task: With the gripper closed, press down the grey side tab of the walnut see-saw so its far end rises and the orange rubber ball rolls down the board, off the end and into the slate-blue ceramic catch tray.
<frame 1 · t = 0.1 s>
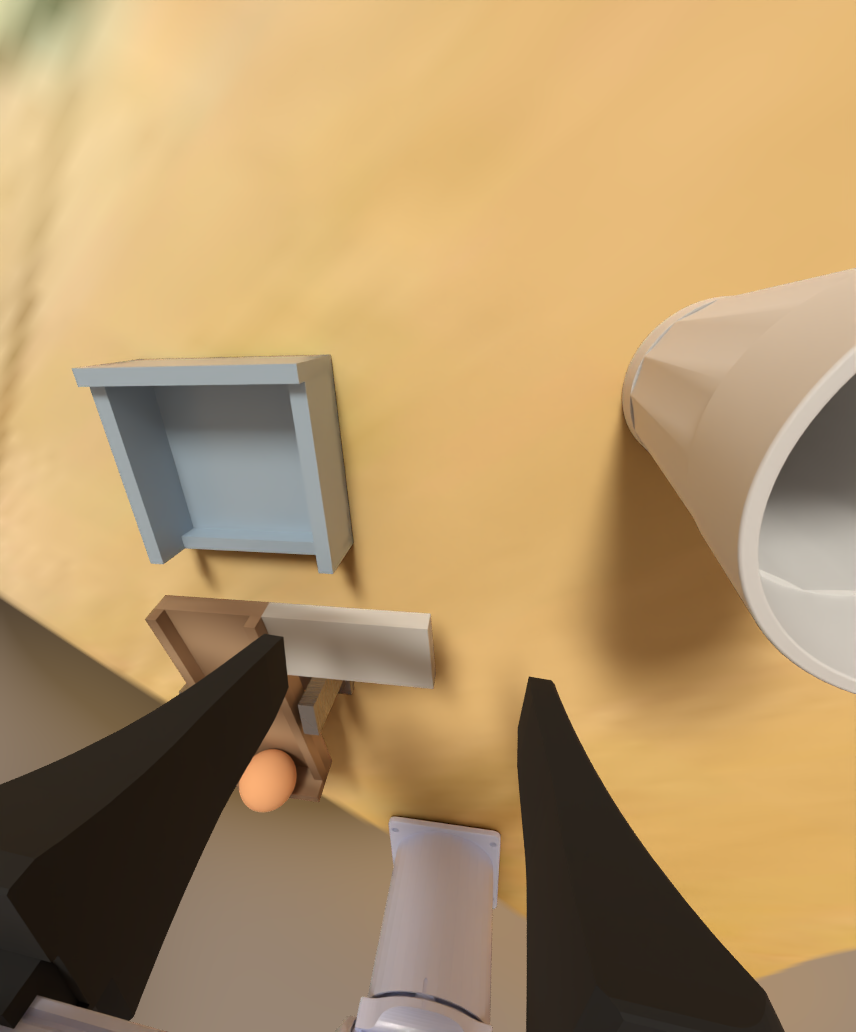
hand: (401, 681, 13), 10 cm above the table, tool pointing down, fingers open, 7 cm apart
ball: (268, 779, 24), point 5 cm above the table, tilted 15°, touching seesaw
tray: (251, 456, 22), on the table
seesaw: (314, 718, 22), point 5 cm above the table, hinge at -11.0°, touching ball
stand: (291, 645, 27), on the table
cup: (706, 385, 17), on the table
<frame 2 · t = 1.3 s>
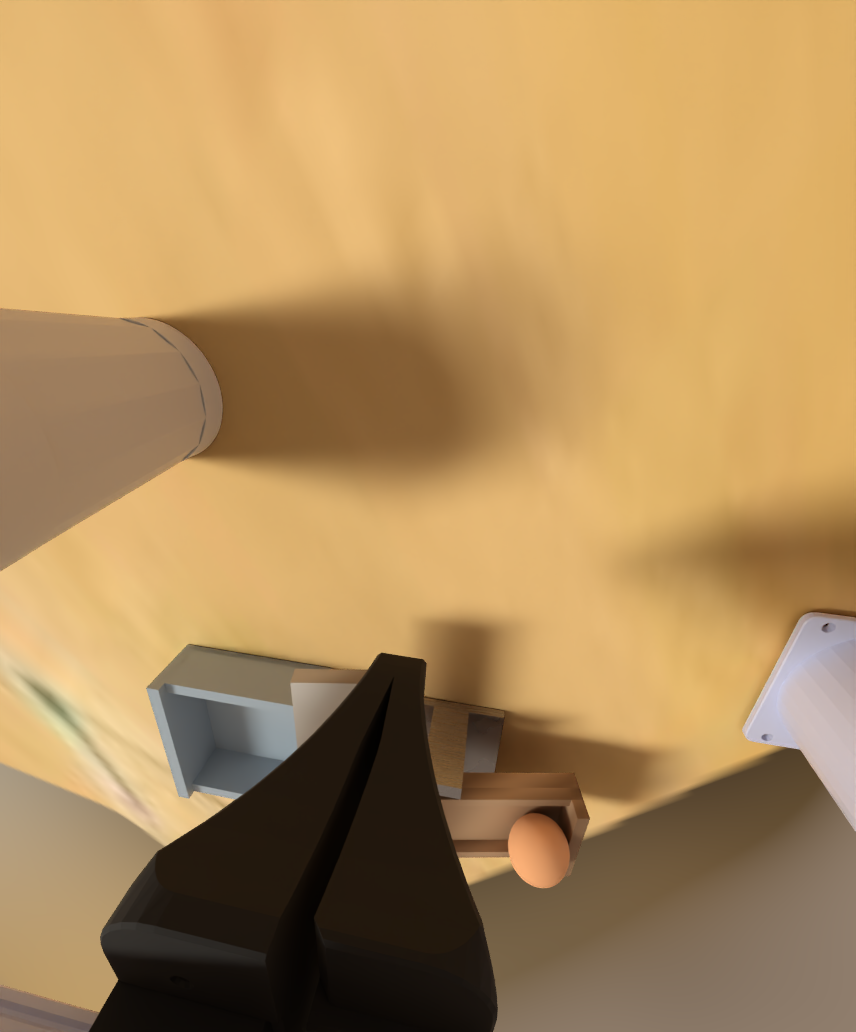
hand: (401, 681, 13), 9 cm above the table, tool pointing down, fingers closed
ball: (538, 848, 22), point 5 cm above the table, tilted 15°, touching seesaw
tray: (266, 711, 29), on the table
seesaw: (444, 782, 21), point 5 cm above the table, hinge at -11.0°, touching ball
stand: (447, 744, 27), on the table
cup: (161, 391, 21), on the table
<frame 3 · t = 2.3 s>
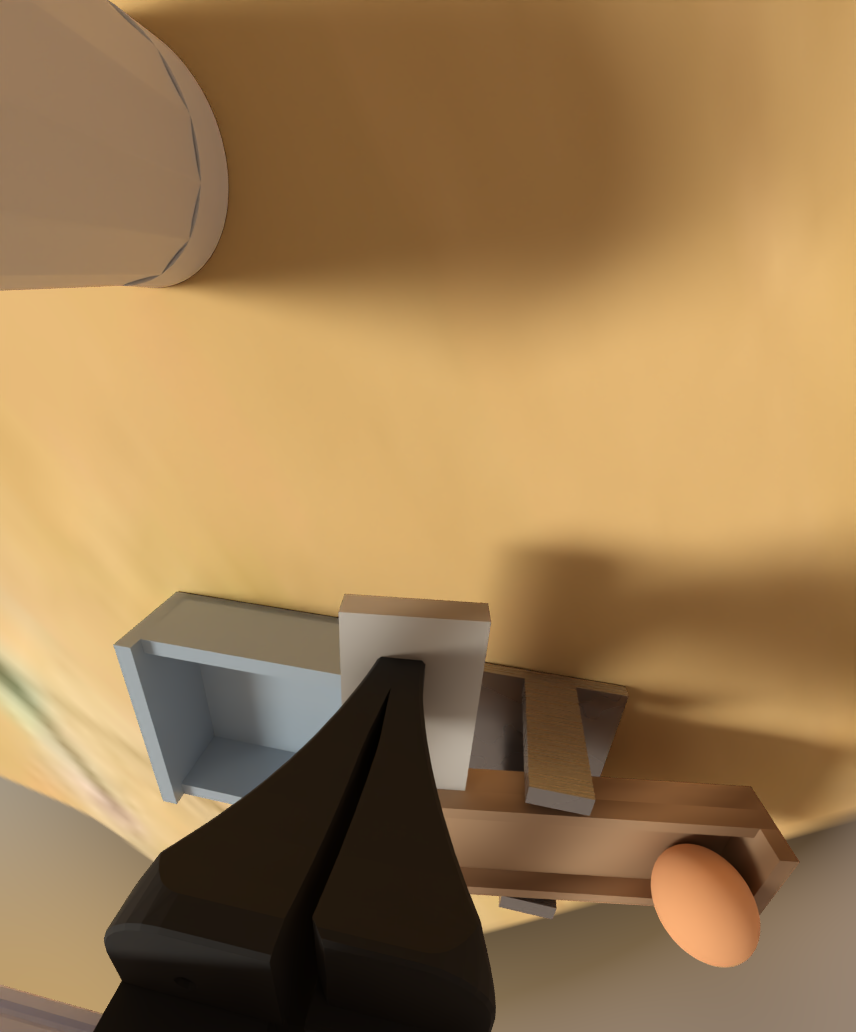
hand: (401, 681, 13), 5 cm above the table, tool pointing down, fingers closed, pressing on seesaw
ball: (702, 901, 14), point 5 cm above the table, tilted 10°, touching seesaw
tray: (282, 687, 21), on the table
seesaw: (563, 789, 14), point 5 cm above the table, hinge at -8.1°, touching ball, gripper
stand: (534, 734, 20), on the table
cup: (132, 168, 13), on the table
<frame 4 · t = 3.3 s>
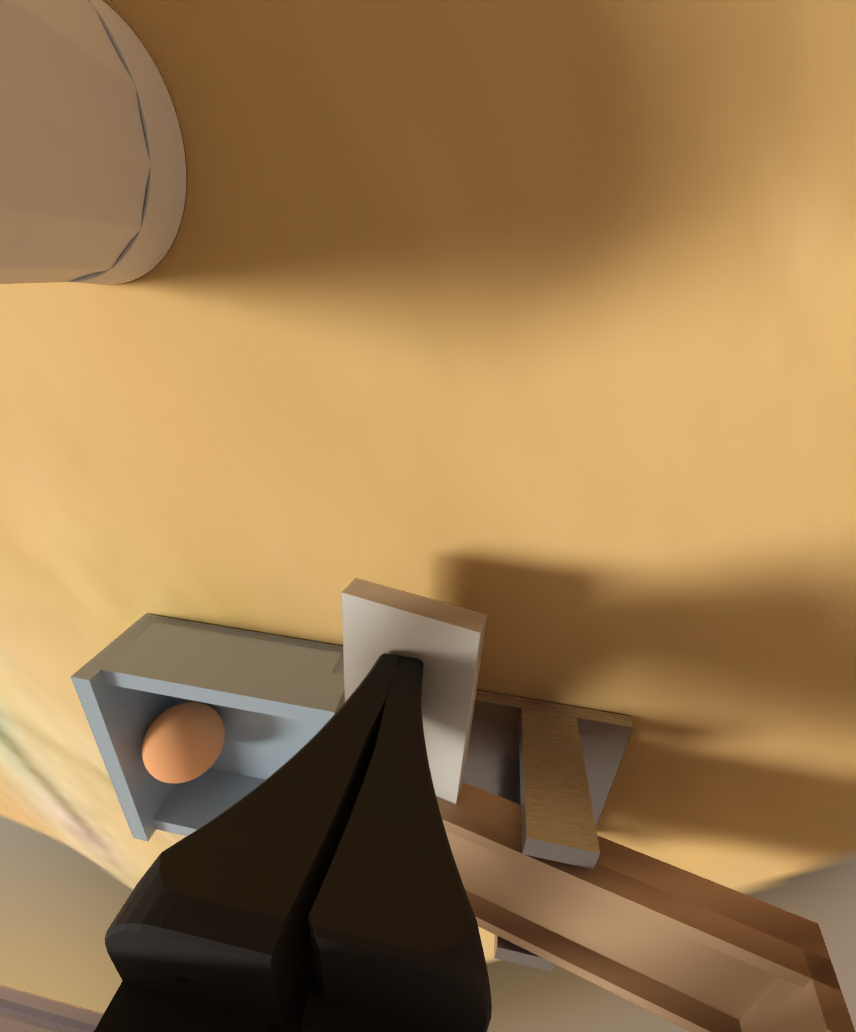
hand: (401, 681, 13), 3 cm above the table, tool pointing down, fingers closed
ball: (185, 741, 18), point 2 cm above the table, tilted 36°, touching tray
tray: (262, 713, 20), on the table
seesaw: (555, 838, 13), point 5 cm above the table, hinge at 11.5°, touching gripper
stand: (532, 764, 18), on the table
cup: (79, 149, 12), on the table
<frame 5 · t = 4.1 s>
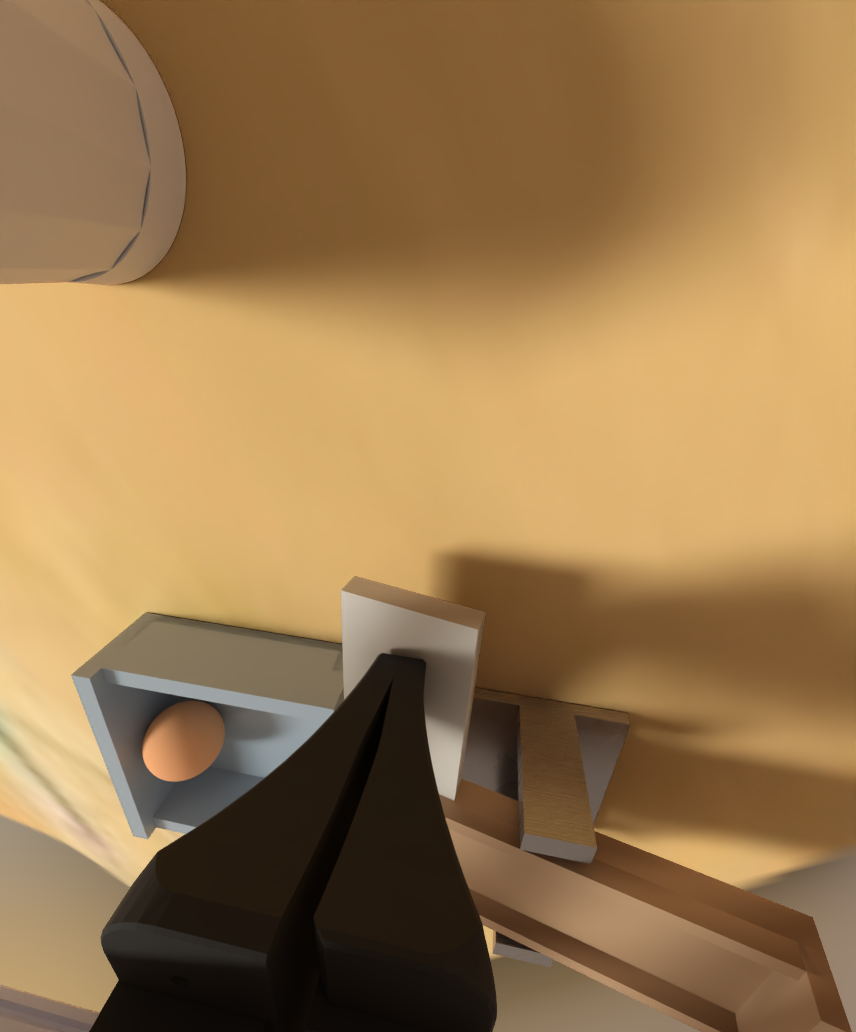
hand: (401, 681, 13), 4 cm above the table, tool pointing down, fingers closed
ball: (185, 739, 18), point 2 cm above the table, tilted 35°, touching tray
tray: (261, 712, 20), on the table
seesaw: (552, 833, 13), point 5 cm above the table, hinge at 11.6°
stand: (530, 761, 18), on the table
cup: (79, 150, 12), on the table
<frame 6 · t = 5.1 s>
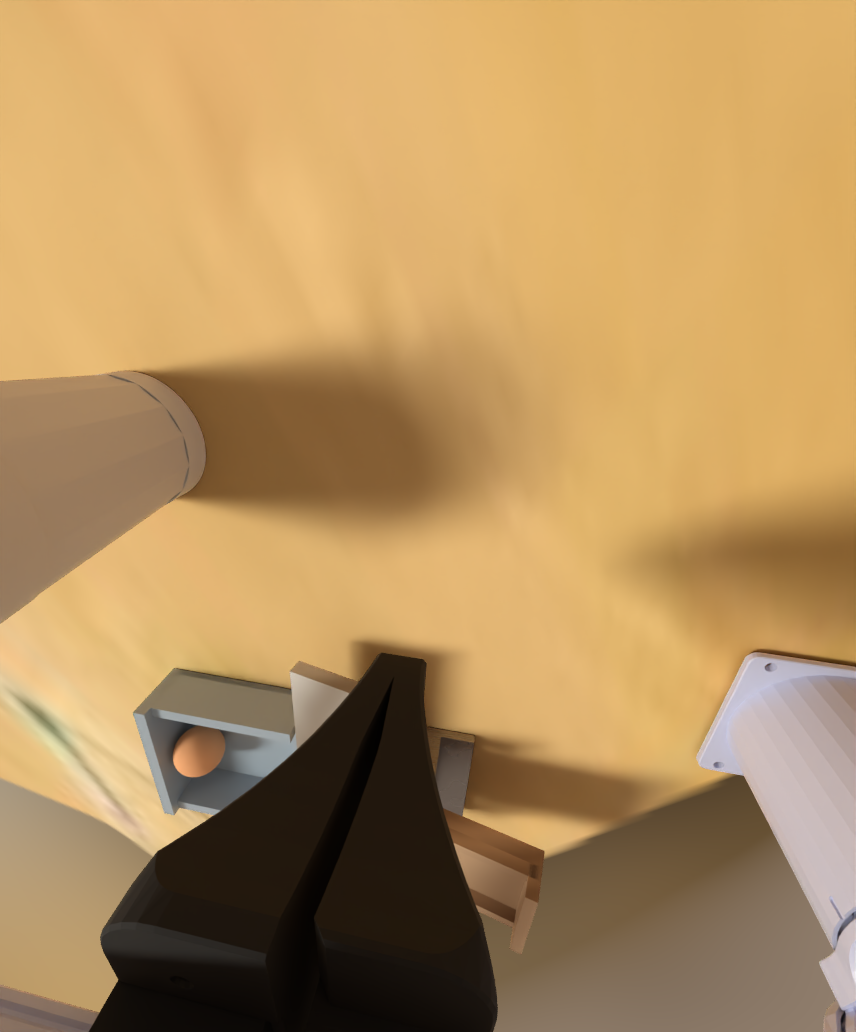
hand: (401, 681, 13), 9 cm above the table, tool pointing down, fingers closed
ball: (199, 750, 28), point 2 cm above the table, tilted 34°, touching tray
tray: (249, 731, 30), on the table
seesaw: (407, 806, 23), point 5 cm above the table, hinge at 11.6°
stand: (422, 765, 28), on the table
cup: (148, 437, 22), on the table
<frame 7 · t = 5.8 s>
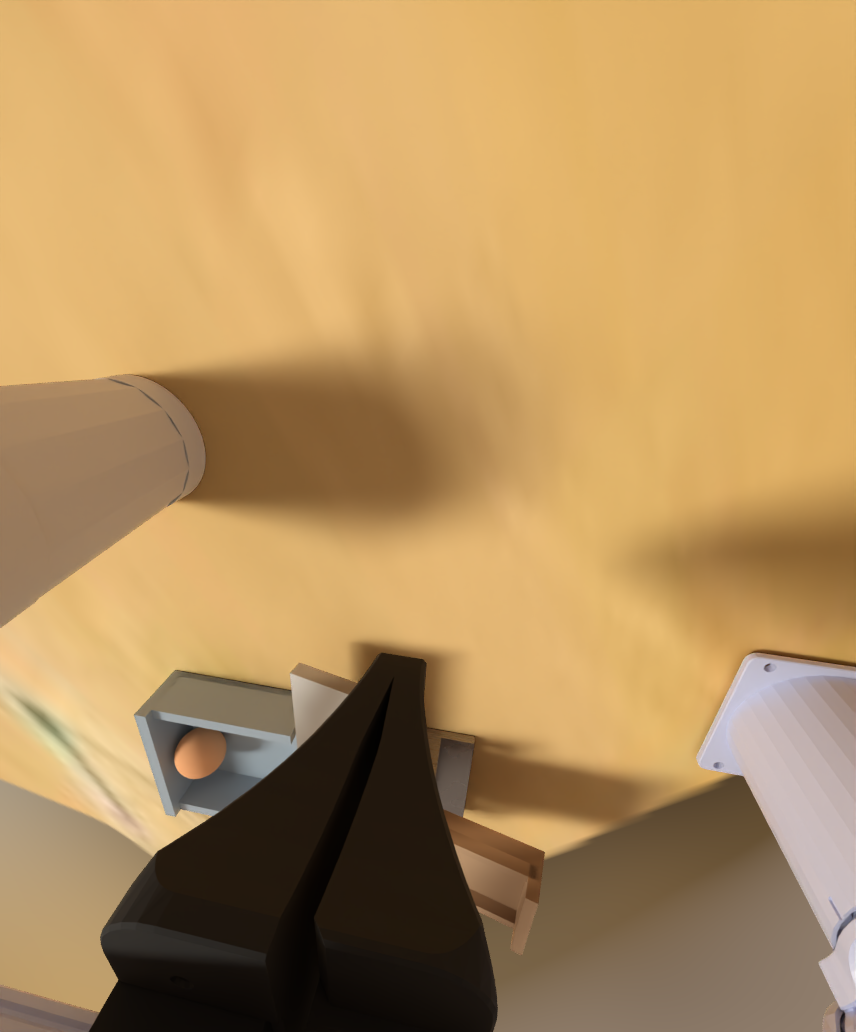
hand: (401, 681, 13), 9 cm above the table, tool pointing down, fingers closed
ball: (200, 751, 28), point 2 cm above the table, tilted 33°, touching tray
tray: (250, 733, 30), on the table
seesaw: (408, 807, 23), point 5 cm above the table, hinge at 11.6°
stand: (422, 766, 28), on the table
cup: (148, 440, 22), on the table
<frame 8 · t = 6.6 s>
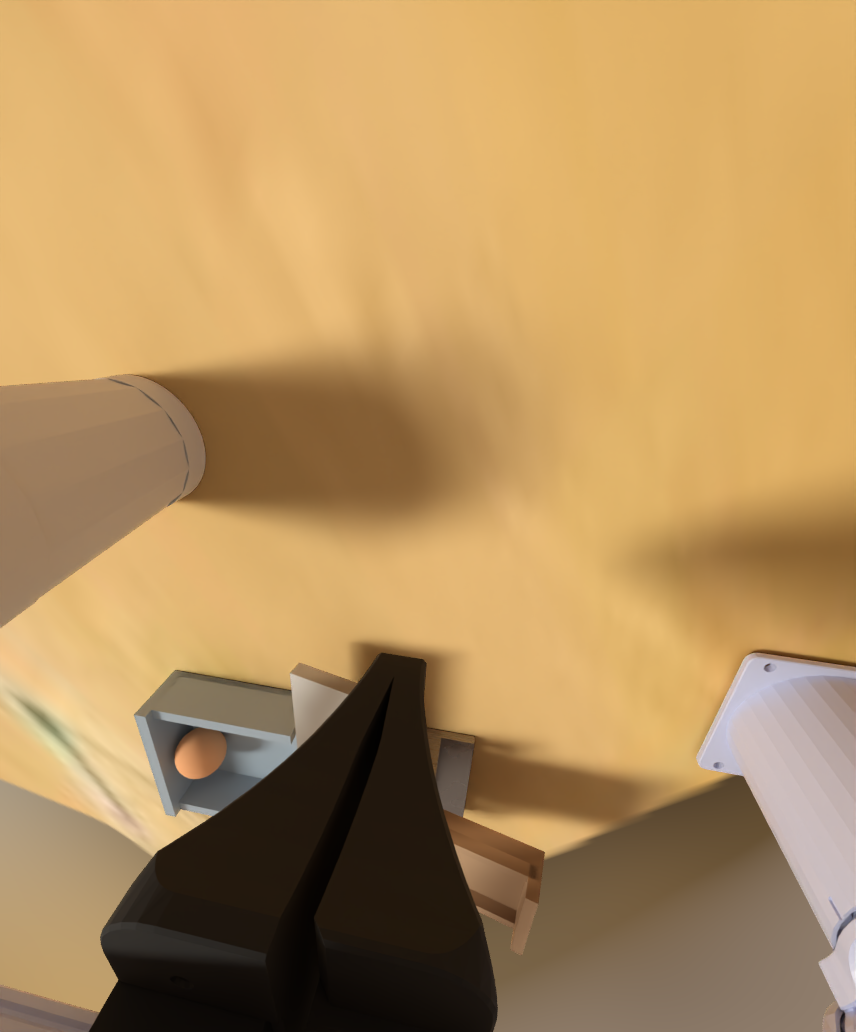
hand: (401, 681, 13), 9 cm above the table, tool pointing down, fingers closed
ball: (201, 752, 28), point 2 cm above the table, tilted 32°, touching tray
tray: (250, 733, 30), on the table
seesaw: (408, 807, 23), point 5 cm above the table, hinge at 11.6°
stand: (422, 766, 28), on the table
cup: (148, 440, 22), on the table
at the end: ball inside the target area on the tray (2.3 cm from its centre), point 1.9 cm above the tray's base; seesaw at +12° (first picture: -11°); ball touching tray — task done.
